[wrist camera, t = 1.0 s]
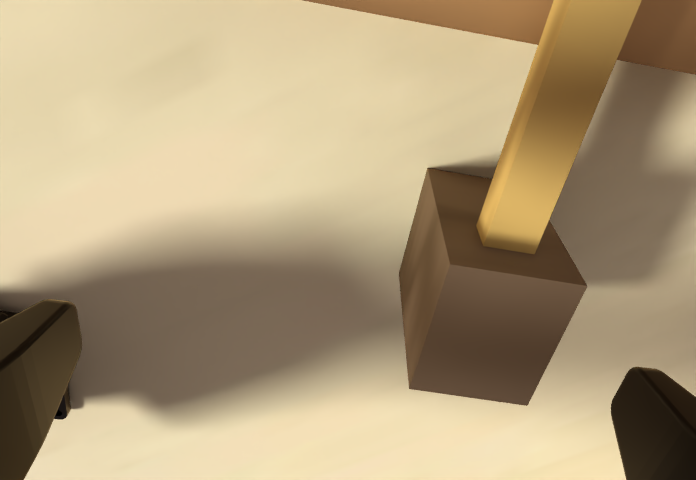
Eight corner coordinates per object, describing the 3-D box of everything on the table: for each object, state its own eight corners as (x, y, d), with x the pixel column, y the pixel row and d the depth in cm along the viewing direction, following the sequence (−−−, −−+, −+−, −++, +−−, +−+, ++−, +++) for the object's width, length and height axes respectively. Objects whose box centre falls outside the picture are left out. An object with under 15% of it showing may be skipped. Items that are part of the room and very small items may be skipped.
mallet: (489, 288, 24) (527, 405, 18) (398, 273, 23) (409, 388, 18) (617, -46, 17) (741, -21, 11) (491, -71, 17) (555, -58, 11)
